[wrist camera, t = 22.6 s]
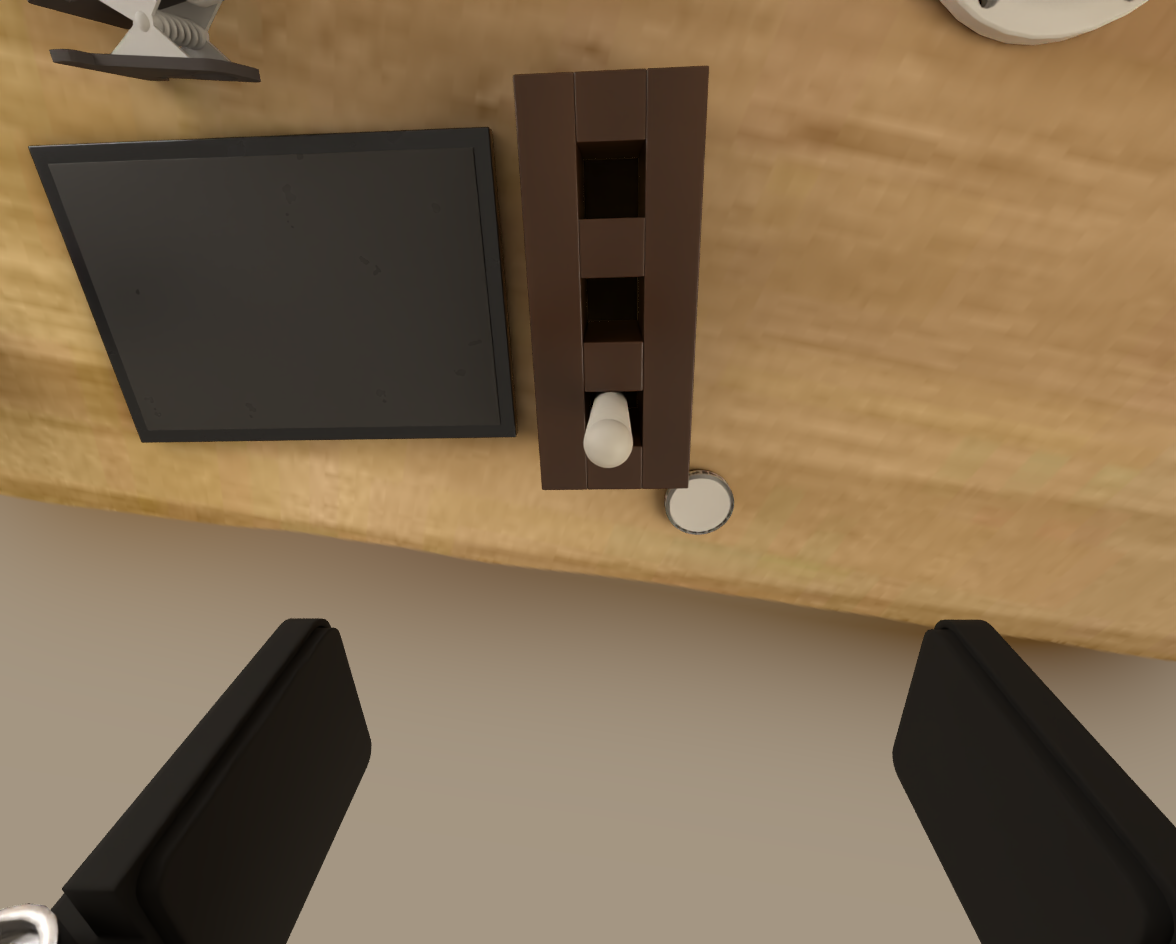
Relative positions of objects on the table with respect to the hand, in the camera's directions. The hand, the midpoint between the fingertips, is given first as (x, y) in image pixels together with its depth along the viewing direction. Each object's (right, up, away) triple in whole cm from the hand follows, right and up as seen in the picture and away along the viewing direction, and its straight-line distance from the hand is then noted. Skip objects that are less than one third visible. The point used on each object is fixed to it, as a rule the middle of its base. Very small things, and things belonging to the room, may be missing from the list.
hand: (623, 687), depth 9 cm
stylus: (+1, +8, +22) cm, 23 cm away
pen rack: (+1, +13, +19) cm, 23 cm away
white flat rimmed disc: (+6, +2, +24) cm, 25 cm away
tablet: (-16, +12, +20) cm, 29 cm away
